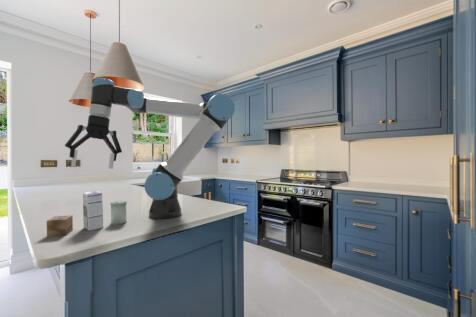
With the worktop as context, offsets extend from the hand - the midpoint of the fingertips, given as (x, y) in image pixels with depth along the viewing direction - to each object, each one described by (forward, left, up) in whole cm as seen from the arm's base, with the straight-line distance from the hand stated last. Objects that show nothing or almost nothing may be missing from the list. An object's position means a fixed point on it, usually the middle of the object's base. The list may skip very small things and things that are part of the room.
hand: (92, 167), depth 95 cm
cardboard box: (+7, +9, -25) cm, 27 cm away
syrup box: (-1, +2, -25) cm, 25 cm away
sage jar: (-7, -6, -24) cm, 26 cm away
